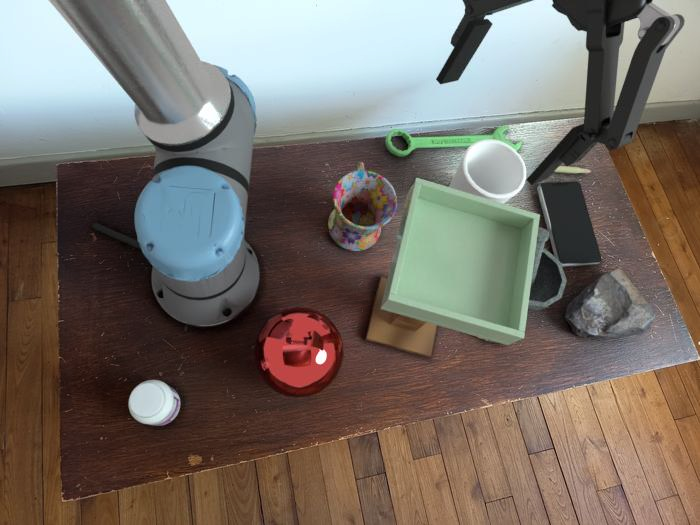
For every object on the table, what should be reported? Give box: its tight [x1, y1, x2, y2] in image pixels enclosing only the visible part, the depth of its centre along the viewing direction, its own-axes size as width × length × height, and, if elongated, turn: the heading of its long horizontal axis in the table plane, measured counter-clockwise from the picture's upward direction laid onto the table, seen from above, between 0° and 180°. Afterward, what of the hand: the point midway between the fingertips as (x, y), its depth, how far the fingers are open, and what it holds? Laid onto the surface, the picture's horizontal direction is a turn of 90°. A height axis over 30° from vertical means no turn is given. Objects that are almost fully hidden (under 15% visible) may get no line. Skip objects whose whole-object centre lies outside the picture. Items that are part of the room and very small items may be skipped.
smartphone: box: [536, 180, 603, 268], centre depth 91 cm, size 8×1×15 cm
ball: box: [253, 306, 345, 399], centre depth 72 cm, size 12×12×12 cm
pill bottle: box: [128, 379, 181, 427], centre depth 68 cm, size 5×5×10 cm
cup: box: [448, 139, 527, 204], centre depth 84 cm, size 10×10×13 cm
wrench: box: [385, 125, 523, 158], centre depth 93 cm, size 25×2×5 cm
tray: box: [380, 177, 541, 346], centre depth 58 cm, size 14×14×4 cm
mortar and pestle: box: [528, 226, 568, 311], centre depth 81 cm, size 11×9×12 cm
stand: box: [364, 276, 438, 358], centre depth 71 cm, size 10×10×24 cm
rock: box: [564, 267, 657, 339], centre depth 85 cm, size 14×11×5 cm
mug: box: [327, 161, 398, 252], centre depth 81 cm, size 12×9×11 cm
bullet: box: [553, 165, 592, 175], centre depth 95 cm, size 1×1×8 cm
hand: (490, 127), depth 52 cm, fingers open, 13 cm apart
